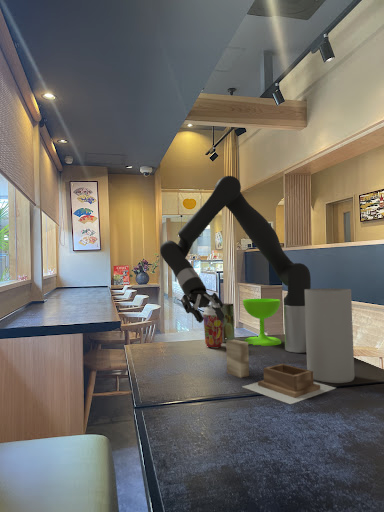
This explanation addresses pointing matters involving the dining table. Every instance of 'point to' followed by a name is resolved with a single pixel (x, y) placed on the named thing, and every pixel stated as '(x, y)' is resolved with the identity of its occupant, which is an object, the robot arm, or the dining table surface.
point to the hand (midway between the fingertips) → (212, 320)
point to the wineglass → (262, 319)
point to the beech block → (237, 358)
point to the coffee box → (228, 322)
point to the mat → (285, 397)
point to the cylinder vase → (329, 334)
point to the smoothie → (212, 328)
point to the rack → (288, 380)
